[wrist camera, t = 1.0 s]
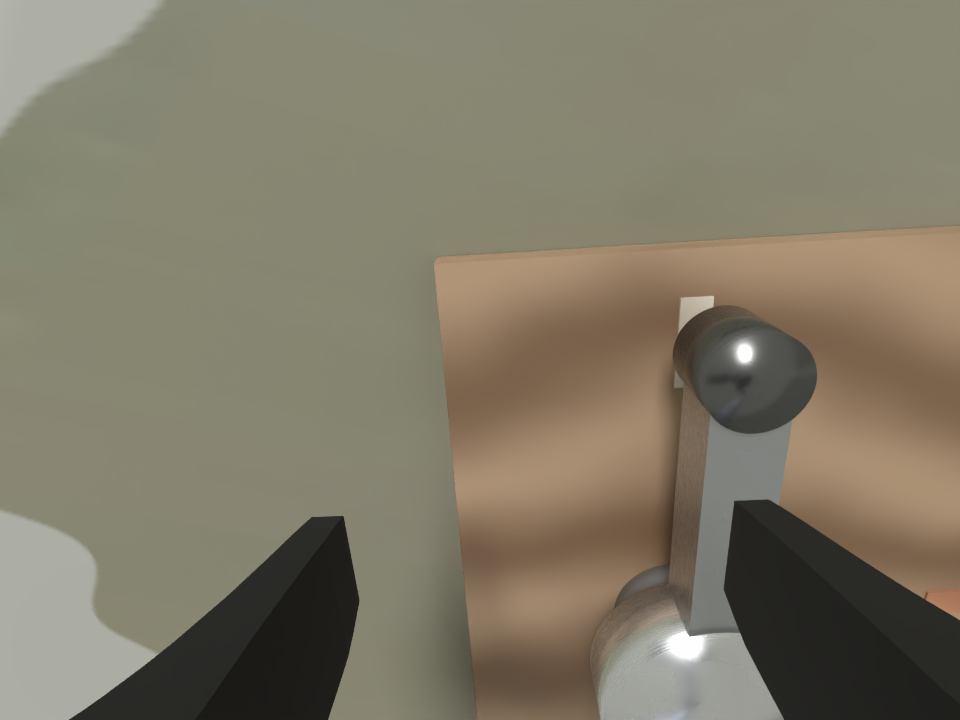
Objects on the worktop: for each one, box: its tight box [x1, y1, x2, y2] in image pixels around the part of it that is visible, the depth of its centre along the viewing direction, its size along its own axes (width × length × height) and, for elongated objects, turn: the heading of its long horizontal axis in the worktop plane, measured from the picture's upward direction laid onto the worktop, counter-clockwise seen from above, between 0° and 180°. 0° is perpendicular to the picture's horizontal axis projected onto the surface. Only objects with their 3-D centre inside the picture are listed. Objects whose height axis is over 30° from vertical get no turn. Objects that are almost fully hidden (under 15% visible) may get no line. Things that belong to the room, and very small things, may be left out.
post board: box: [434, 225, 960, 720], centre depth 19 cm, size 22×22×3 cm
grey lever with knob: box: [590, 305, 817, 720], centre depth 16 cm, size 16×7×2 cm, turn 4°
